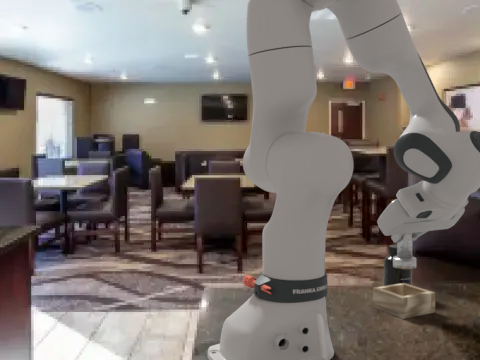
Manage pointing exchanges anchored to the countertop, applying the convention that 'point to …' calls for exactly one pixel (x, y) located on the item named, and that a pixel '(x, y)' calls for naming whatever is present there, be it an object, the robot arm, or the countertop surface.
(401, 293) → the open wooden box
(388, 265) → the supplement bottle
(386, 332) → the countertop surface
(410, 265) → the metal coffee tamper
